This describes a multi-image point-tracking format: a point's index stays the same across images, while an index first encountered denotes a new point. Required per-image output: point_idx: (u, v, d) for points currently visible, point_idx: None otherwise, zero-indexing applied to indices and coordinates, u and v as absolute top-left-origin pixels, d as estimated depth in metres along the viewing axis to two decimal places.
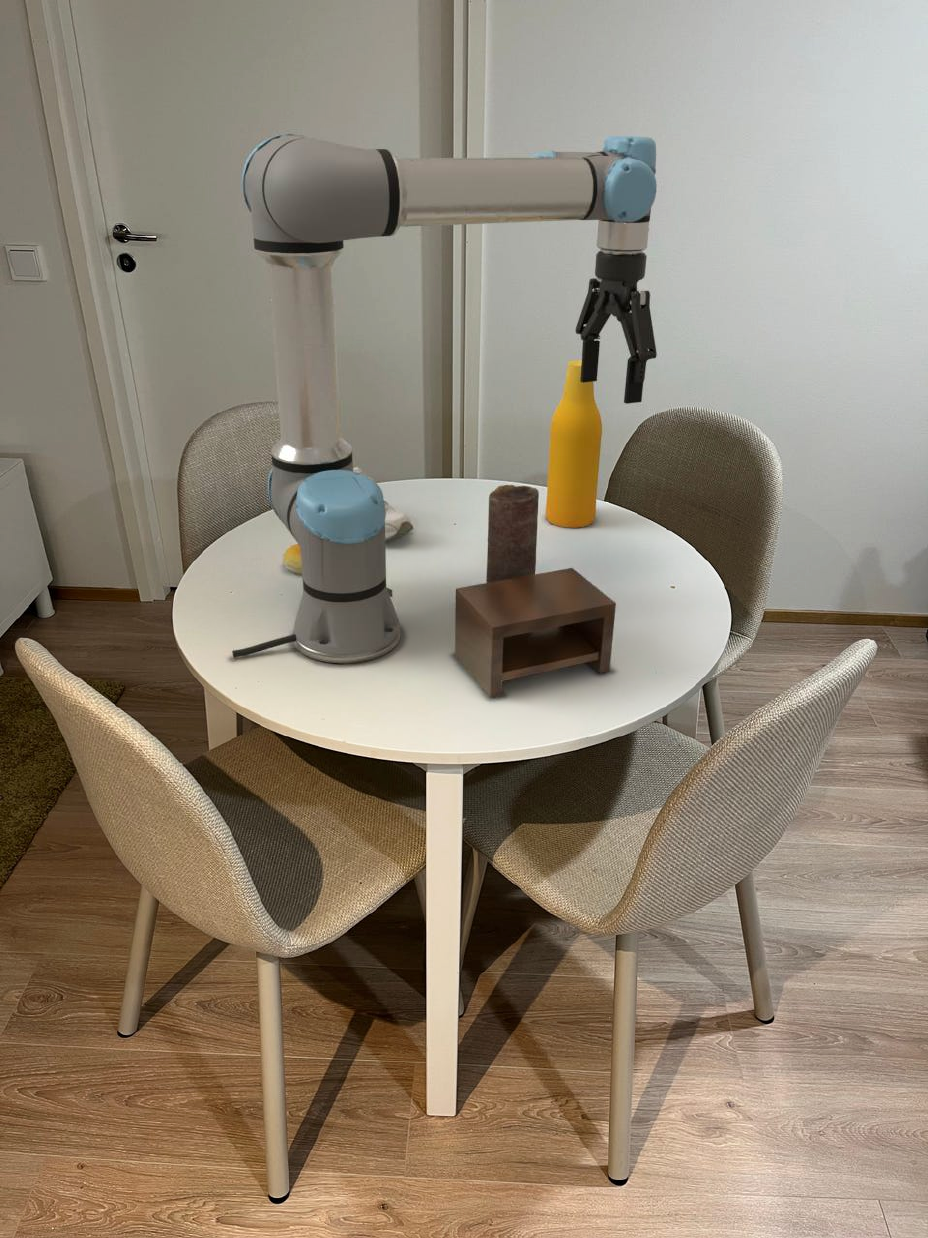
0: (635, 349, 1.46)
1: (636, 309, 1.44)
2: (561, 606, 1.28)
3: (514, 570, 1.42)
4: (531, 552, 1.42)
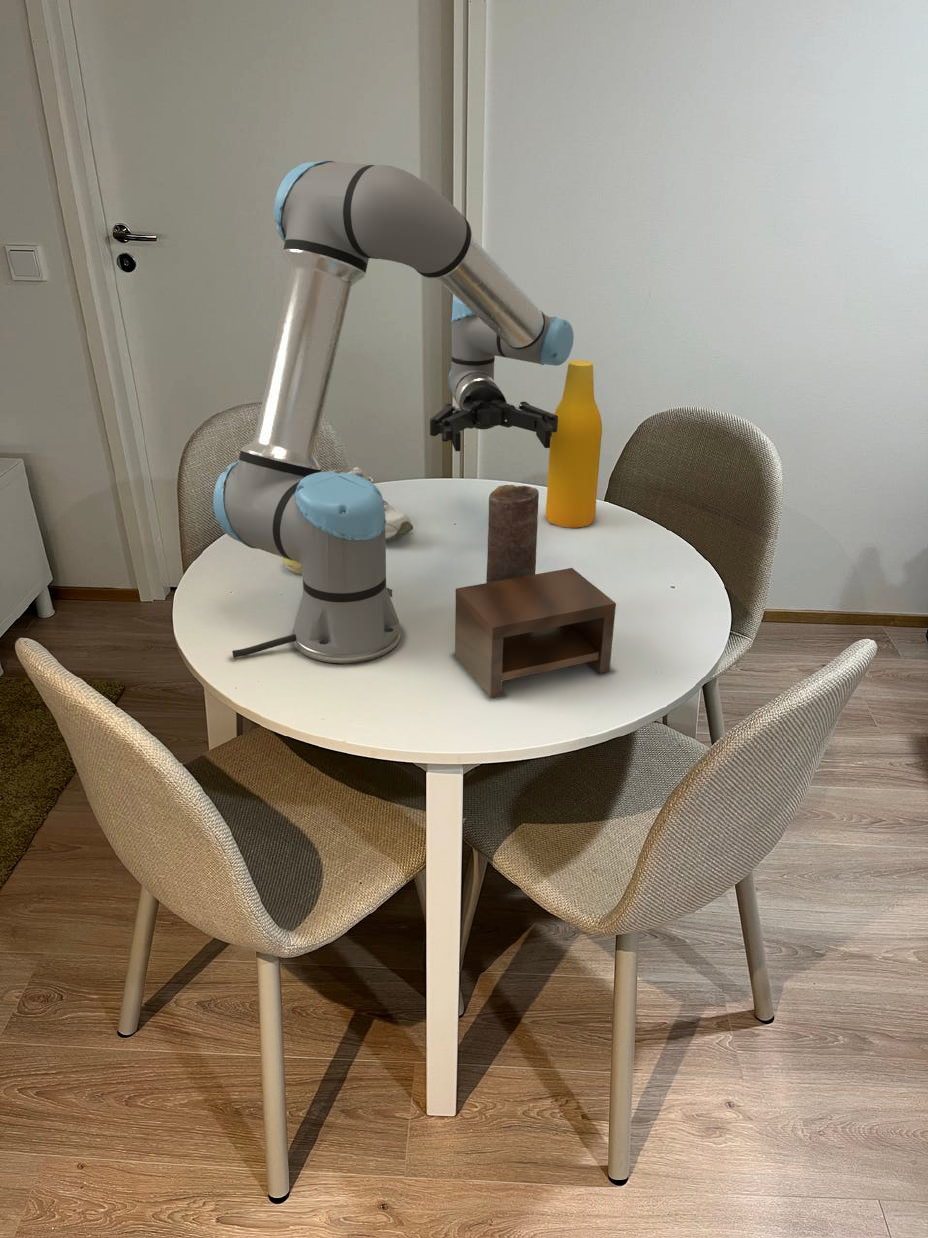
0: (541, 417, 1.54)
1: None
2: (561, 606, 1.28)
3: (514, 570, 1.42)
4: (531, 552, 1.42)
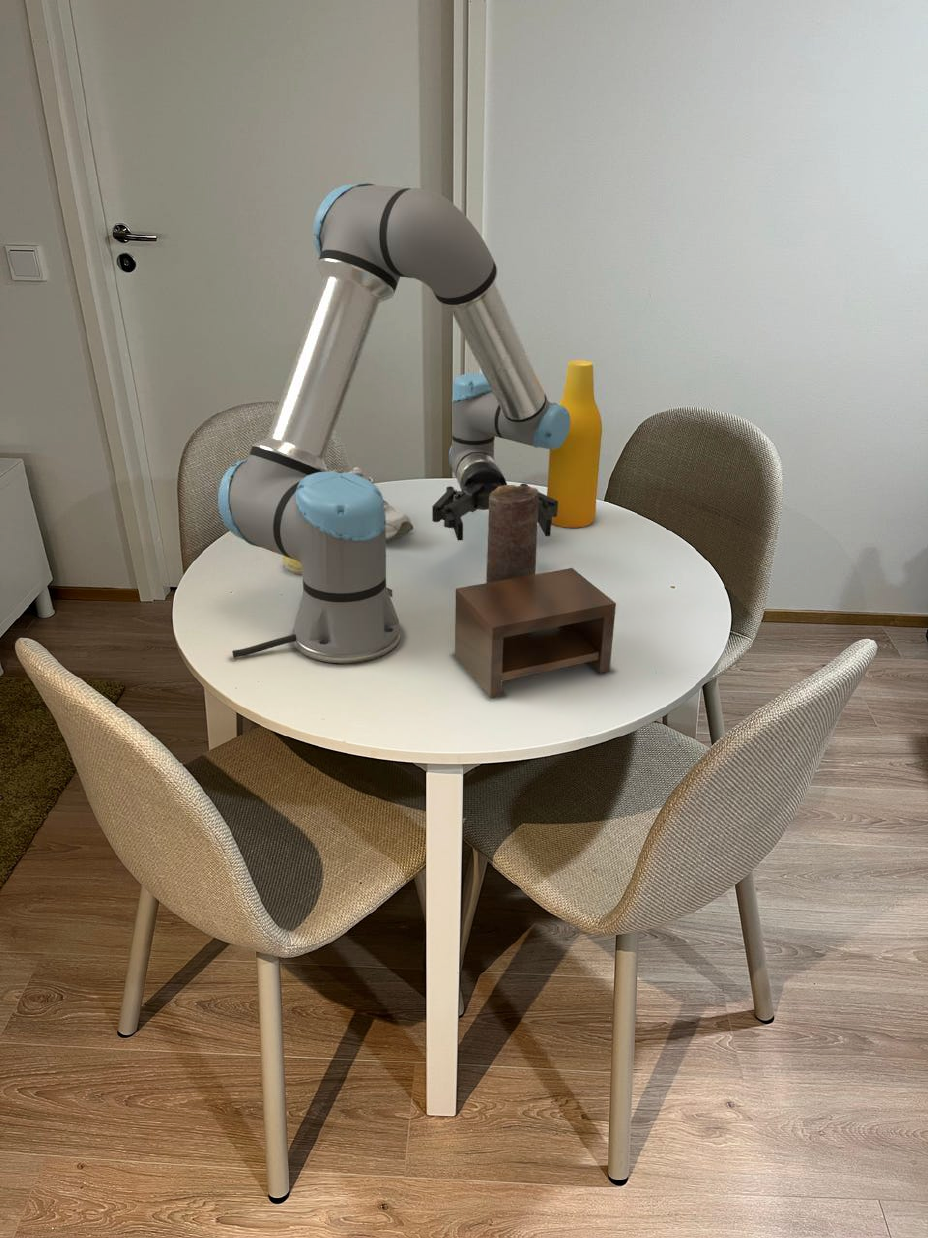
0: None
1: None
2: (561, 606, 1.28)
3: (514, 570, 1.42)
4: (531, 552, 1.42)
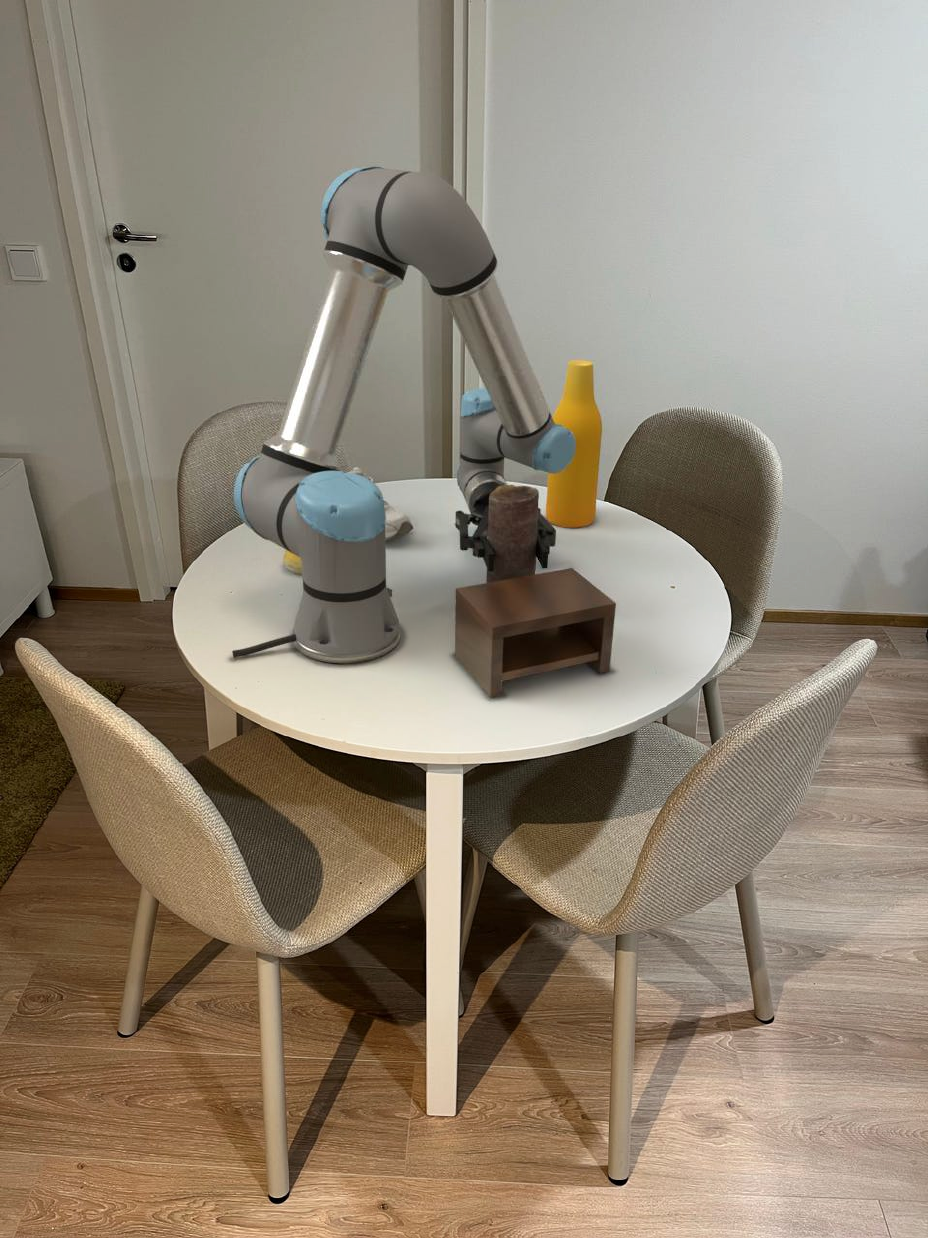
0: None
1: (541, 514, 1.52)
2: (561, 606, 1.28)
3: (514, 570, 1.42)
4: (531, 552, 1.42)
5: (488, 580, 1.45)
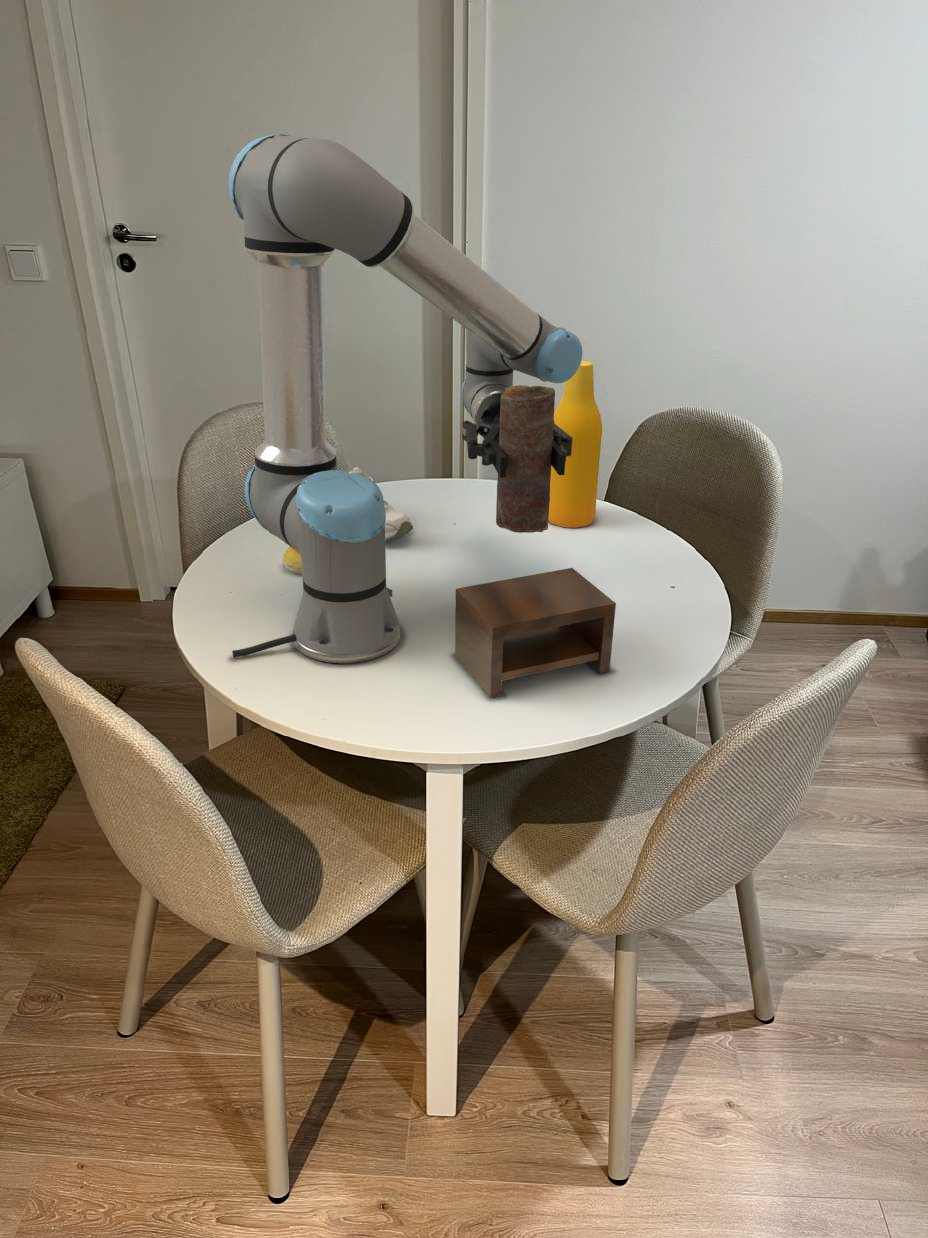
0: None
1: (555, 424, 1.41)
2: (561, 606, 1.28)
3: (528, 477, 1.30)
4: (546, 457, 1.30)
5: (499, 491, 1.33)
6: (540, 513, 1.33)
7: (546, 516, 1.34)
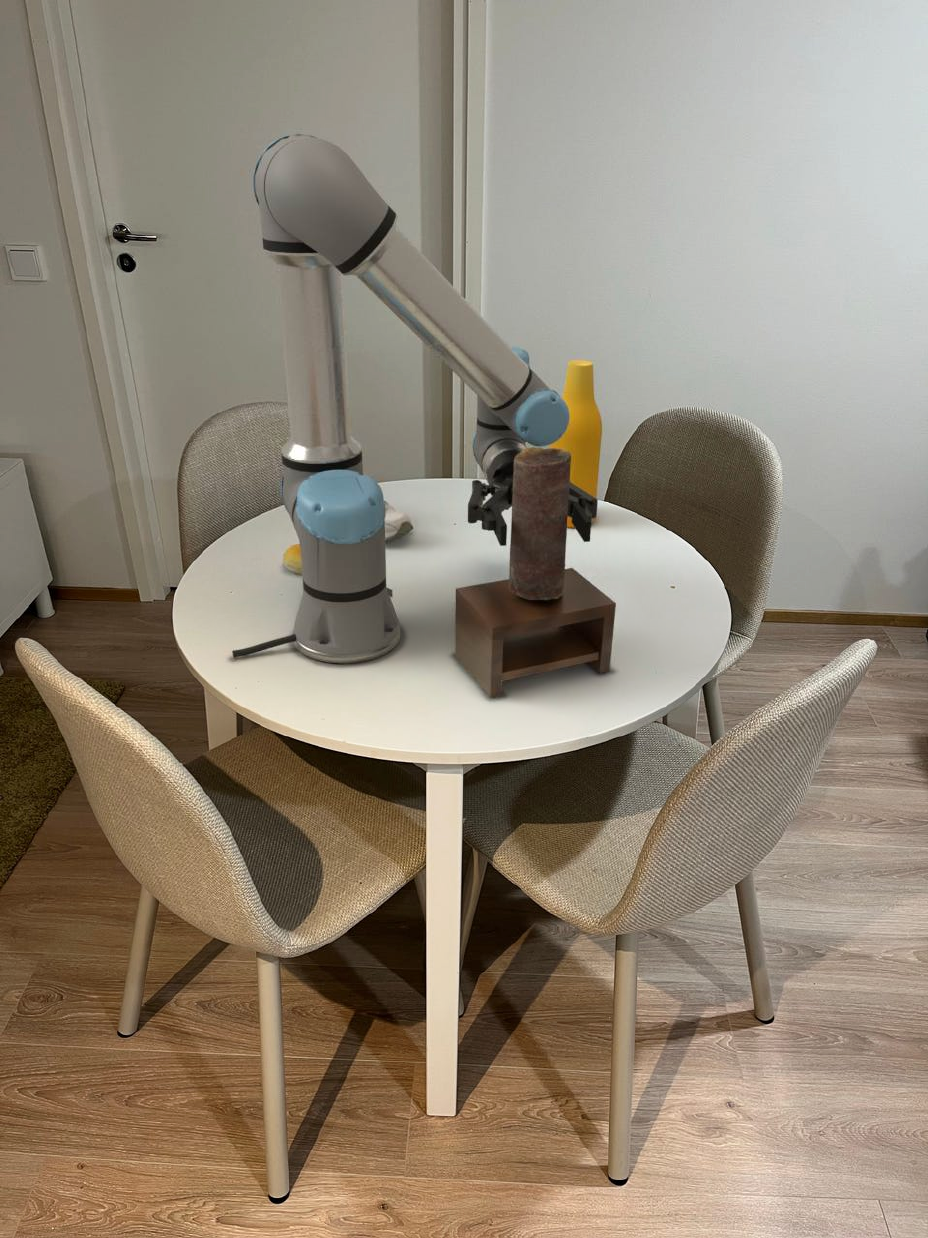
0: None
1: (571, 483, 1.35)
2: (561, 606, 1.28)
3: (542, 544, 1.24)
4: (561, 523, 1.24)
5: (512, 557, 1.27)
6: (555, 580, 1.27)
7: (561, 583, 1.28)
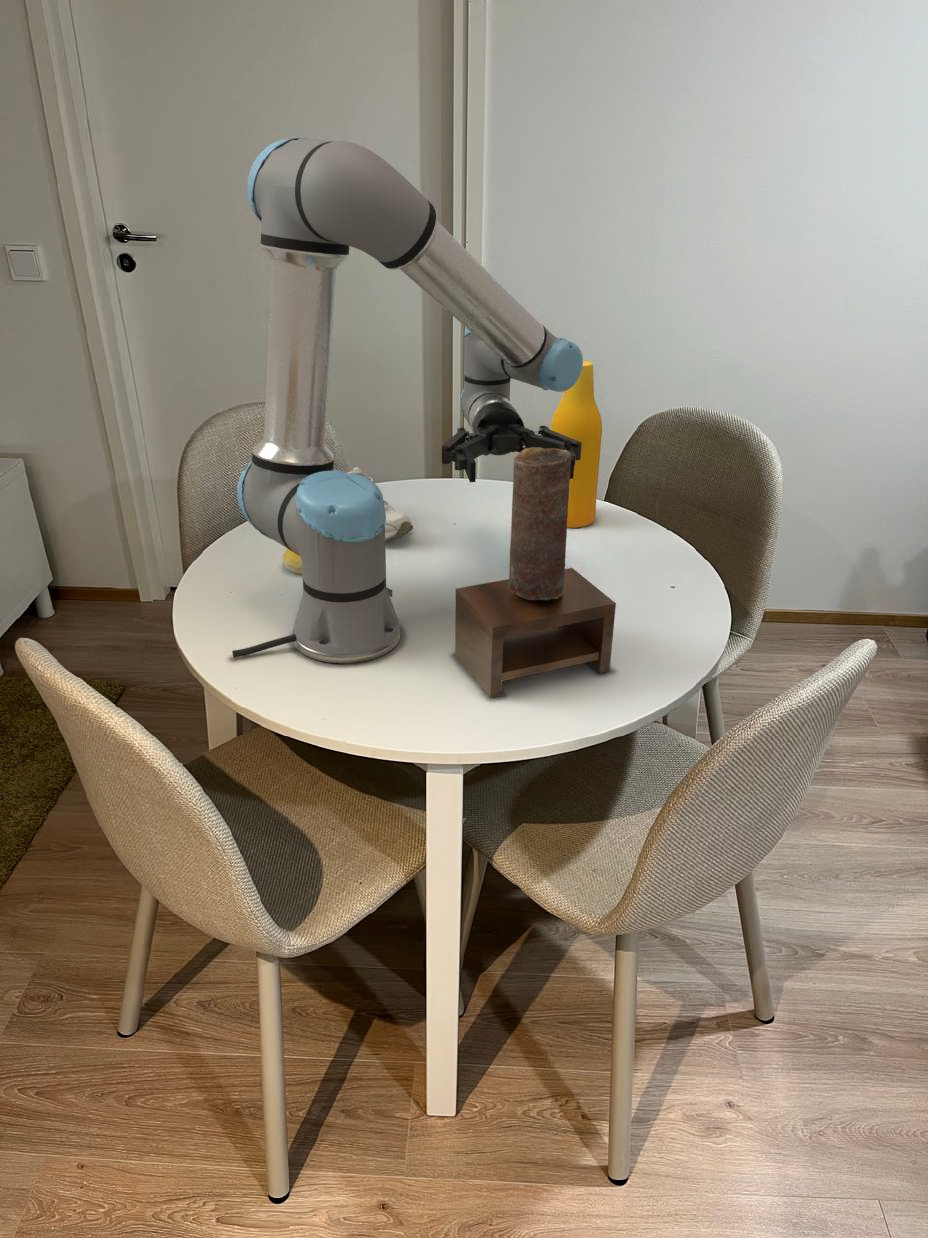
0: (563, 443, 1.41)
1: (551, 430, 1.46)
2: (561, 606, 1.28)
3: (542, 544, 1.24)
4: (561, 524, 1.24)
5: (512, 557, 1.27)
6: (555, 580, 1.27)
7: (561, 583, 1.28)
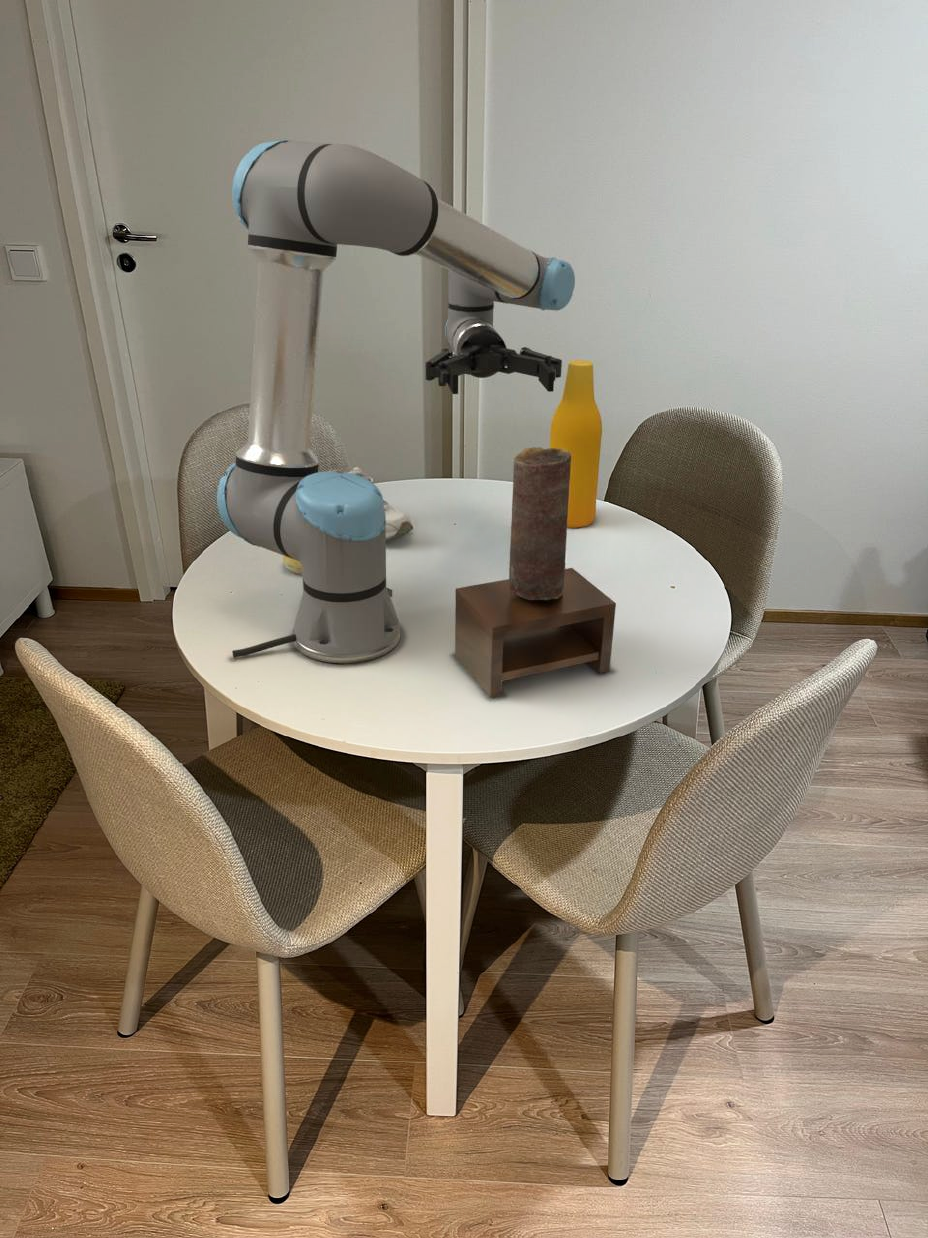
0: None
1: (533, 351, 1.50)
2: (561, 606, 1.28)
3: (542, 544, 1.24)
4: (561, 524, 1.24)
5: (512, 557, 1.27)
6: (555, 580, 1.27)
7: (561, 583, 1.28)
